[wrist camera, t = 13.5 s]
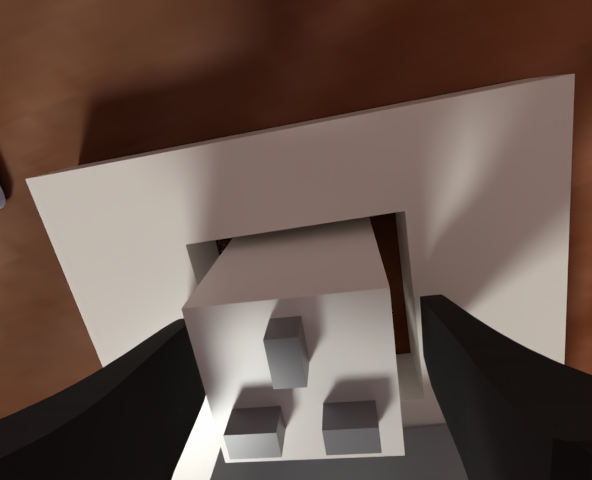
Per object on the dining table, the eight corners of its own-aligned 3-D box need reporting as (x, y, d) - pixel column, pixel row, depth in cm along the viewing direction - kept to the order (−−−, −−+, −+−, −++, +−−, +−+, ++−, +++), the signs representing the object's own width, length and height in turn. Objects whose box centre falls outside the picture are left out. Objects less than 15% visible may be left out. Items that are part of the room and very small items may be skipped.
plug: (264, 332, 16) (216, 492, 9) (241, 225, 14) (166, 328, 8) (378, 322, 15) (410, 486, 9) (366, 209, 14) (395, 307, 7)
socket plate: (217, 548, 20) (202, 607, 18) (77, 165, 14) (25, 179, 12) (526, 539, 18) (555, 605, 16) (526, 78, 12) (574, 73, 9)
